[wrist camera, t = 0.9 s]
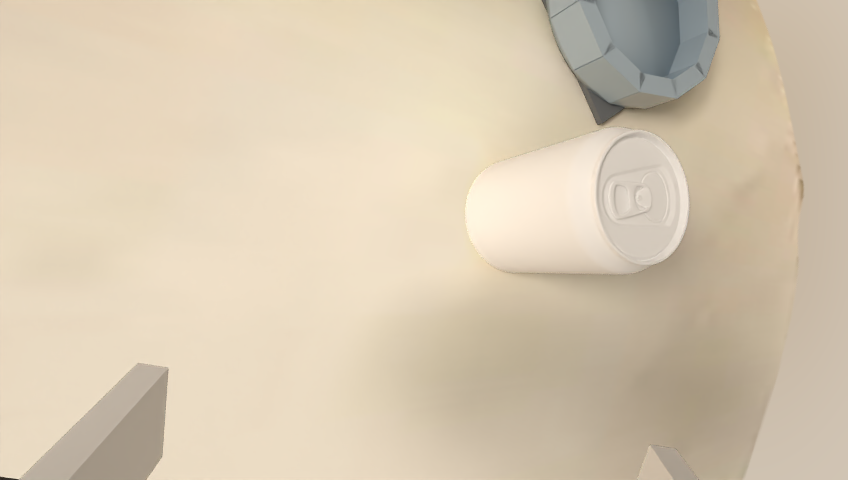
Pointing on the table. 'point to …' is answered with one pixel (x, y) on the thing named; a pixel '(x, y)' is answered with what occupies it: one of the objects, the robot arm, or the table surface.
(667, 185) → the beverage can
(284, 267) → the table surface
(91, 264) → the table surface
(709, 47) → the bowl
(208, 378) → the table surface
